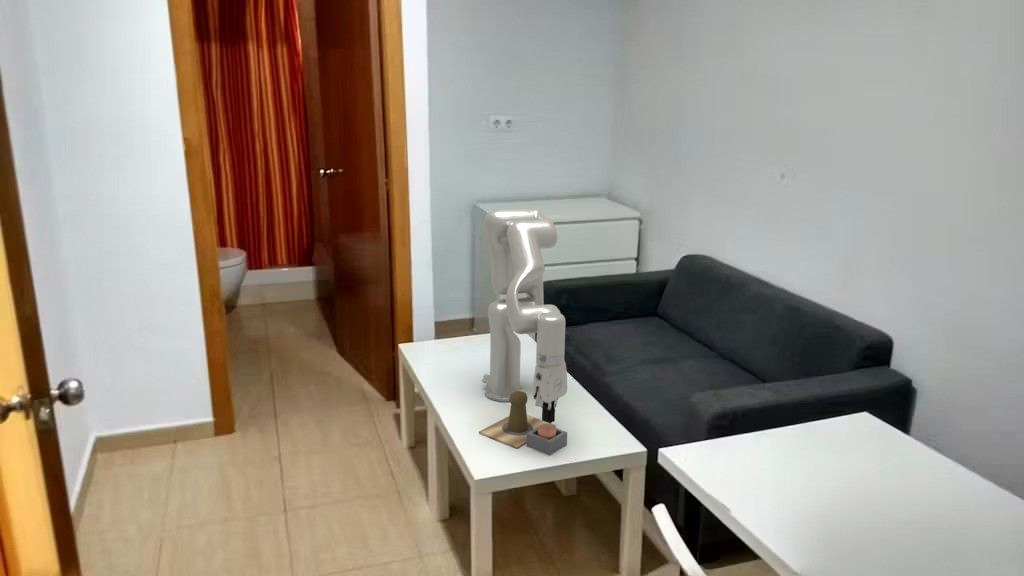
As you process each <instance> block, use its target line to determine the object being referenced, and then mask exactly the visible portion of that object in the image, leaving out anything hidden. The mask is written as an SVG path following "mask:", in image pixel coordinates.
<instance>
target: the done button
mask: <svg viewBox="0 0 1024 576" xmlns="http://www.w3.org/2000/svg"><path fill="white" fill-rule="evenodd" d="M552 424H553V423H551V424H541V425H539V427H538V436H541V437H543V438H546V439H548V440H550V439H552V438H553V437H555V436H556V428H557V427H556V426H557V425H555V424H554V425H555V426H554V425H552Z"/></svg>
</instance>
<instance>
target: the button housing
mask: <svg viewBox="0 0 1024 576" xmlns="http://www.w3.org/2000/svg"><path fill="white" fill-rule="evenodd" d="M567 444H568V432H567V431H566V430H562V429H561V428H557V427H556V436H555V437H553V438H552V439H550V440H548V439H546V438H543V437H541V436H538V427H537V428H535V429H534V430H532V431H530V432H528V433H527V442H526V444H525V445H526V447H527V448H529V449H533V450H534V451H537V452H538V453H539V452H540V453H542V454H543V455H547V456H553V454H555V453H556V452H558V451H560V450H561V449H563V448H564V447H567Z"/></svg>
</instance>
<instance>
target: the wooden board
mask: <svg viewBox="0 0 1024 576" xmlns="http://www.w3.org/2000/svg"><path fill="white" fill-rule="evenodd" d="M508 421H509V415H508V416H506V417H504V418H503V419H501V420H499V421H496V422H495V423H493V424H490V425H489V426H487V427H485V428H483V429H481V430H479V431H478V434H479V435H482V436H484V437H486V438H489V439H491V440H493V441H495V442H499V443H501V444H504V445H506V446H509V447H511V448H514V449H515V450H518V449H520V448H521V447H523V446H525V445H526V442H527V433H528V432H530V431H532V430H534V429H535V428H537V427H539V425H541V424H552V425H554V426H556V424H554V423H548V422H545V421H543V420H542V419H540V418H538V417H535V416H532V415H529V414H527V422H528V430H527V431H525V432H522V433H514V432H511V431H509V430H508V429H507V427H508Z"/></svg>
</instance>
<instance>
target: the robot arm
mask: <svg viewBox="0 0 1024 576" xmlns="http://www.w3.org/2000/svg"><path fill="white" fill-rule="evenodd" d="M483 222H484V223H483V228H484V234H485V237H486V240H487V243H488V247H489V253H490V269H491V272H490V274H491V287H492V290H493V291H494V293H496V294H498V295H503V296H504V295H506V296H505V298H502V299H501V298H500V299H496V300H494V301H493V302H491V303H490V304H489V306H488V308H487V317H488V318H487V319H488V322H489V323H488V324H489V325H488V326H489V331H490V333H489V334H490V338H489V339H490V343H489V344H490V345H489V346H490V353H489V355H490V358H489V359H490V362H489V363H490V364H489V365H490V366H489V374H488V373H486V374H484V375H483V378H482V379H481V382H482V383H484V384H486V385H487V387H485V390H484V396H486V397H487V398H488V399H490V400H493V401H496V402H503V403H505V402H507V403H509V402H510V395H511V393H513V392H515V391H521V392H524V393H525V390H524V388H523V387H522V386H520V385H521V384H520V383H521V356H522V355H521V352H522V349H521V348H522V347H521V346H522V345H521V343H522V342H521V340H520V338H519V336H518V335H527V334H536V349H535V350H536V351H535V352H536V353H535V355H536V356H535V357H536V358H535V359H536V360H535V367H534V368H535V369H534V373H533V381H532V383H533V385H532V397H533V399H534V400H535V404H534V405H535V406H536V407H539V408H541V420H543V421H545V422H548V423H551V424H553V423H554V422H555V421H556V418H555V417H556V408H557V406H558V405H557V404H558V400H559V399H560V398H561V397H563V396H565V395H566V394H567V392H568V375H567V374H568V372H567V364H566V360H565V347H566V345H565V343H566V340H565V339H566V318H565V316H564V315H563V313H561V311H560V309H559V308H558V307H557V306H556V305H555V304H544V303H545V302H544V277H543V274H544V272H545V271H546V270H545V263H544V260H543V255H542V250H543V249H551V248H554V247H555V245H557V241H558V232H557V228H556V226H555V223H554V222H553V220H552V219H551V218H550V217H549V216H548V215H546V213H545V212H544V211H542V210H541V209H539V208H536V207H520V208H518V207H516V208H499V209H492V210H491V211H489V212H487V213H486V214H485V217H484V221H483ZM541 249H542V250H541ZM519 294H521V295H522V294H526V296H525V297H518V296H519ZM517 334H518V335H517Z"/></svg>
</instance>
